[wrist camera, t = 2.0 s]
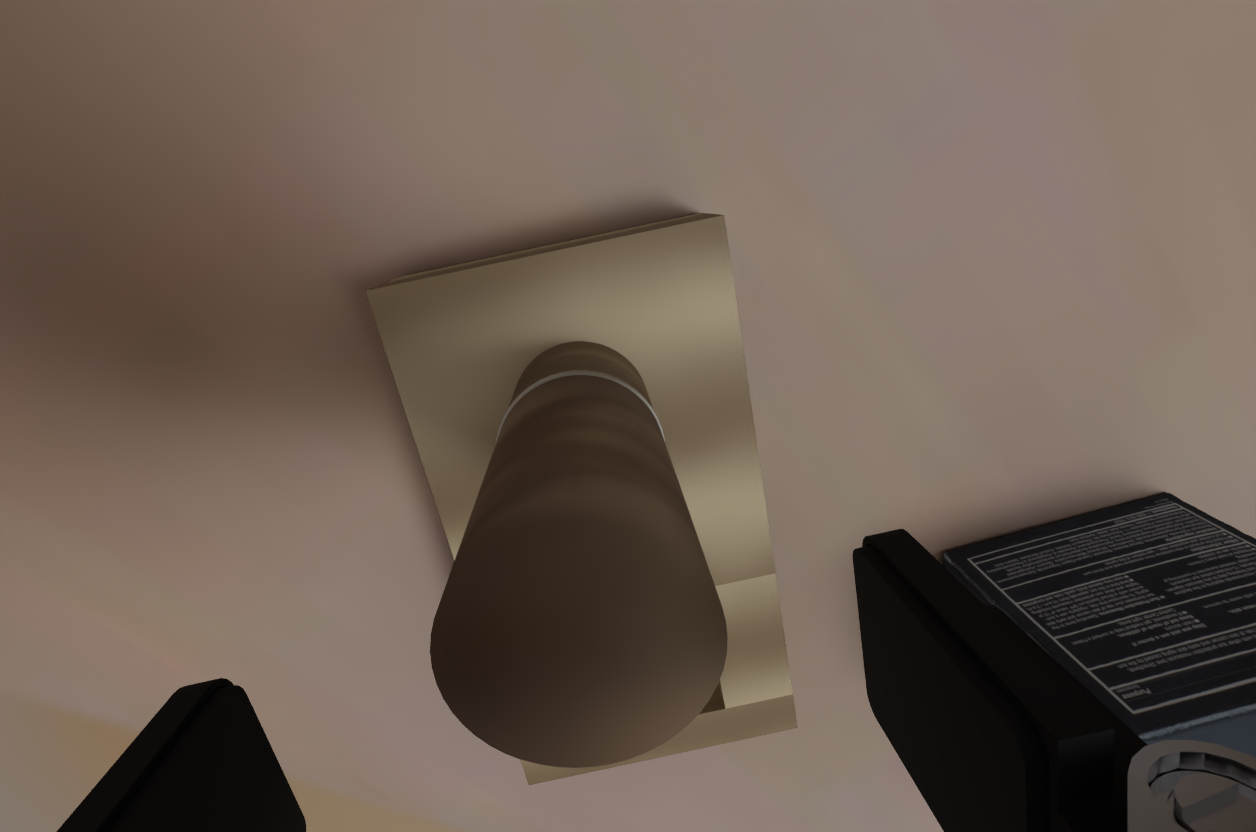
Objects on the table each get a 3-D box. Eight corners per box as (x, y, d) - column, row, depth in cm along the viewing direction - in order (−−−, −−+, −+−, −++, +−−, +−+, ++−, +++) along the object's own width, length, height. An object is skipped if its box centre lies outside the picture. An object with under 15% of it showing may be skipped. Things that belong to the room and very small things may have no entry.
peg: (635, 326, 20) (705, 486, 9) (661, 456, 22) (749, 737, 10) (495, 356, 20) (385, 554, 9) (530, 484, 22) (474, 795, 10)
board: (400, 276, 23) (365, 290, 19) (700, 212, 23) (723, 215, 19) (535, 710, 30) (528, 785, 26) (769, 660, 30) (797, 727, 26)
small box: (949, 665, 30) (1128, 890, 21) (936, 549, 28) (1127, 737, 18) (1168, 608, 30) (1454, 806, 20) (1171, 487, 28) (1491, 642, 18)
